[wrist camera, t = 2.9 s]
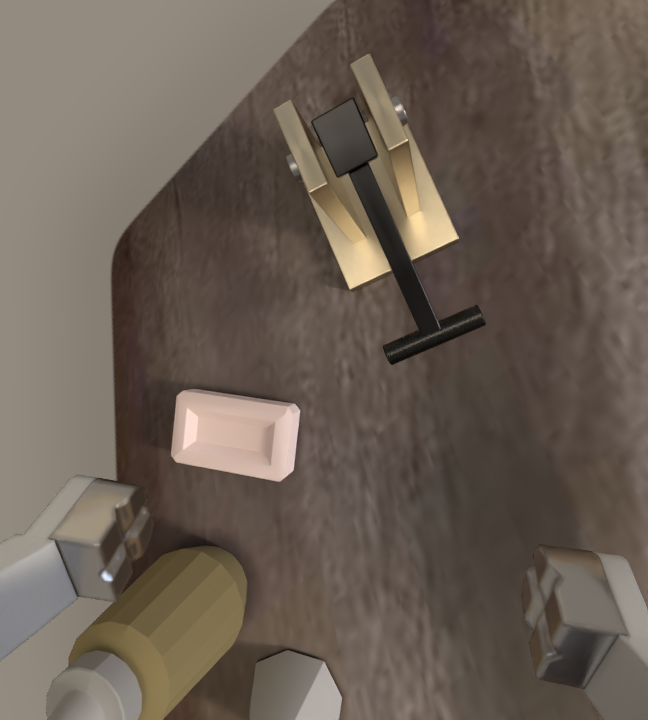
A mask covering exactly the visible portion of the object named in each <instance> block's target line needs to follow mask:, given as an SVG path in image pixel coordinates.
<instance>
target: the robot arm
mask: <svg viewBox="0 0 648 720" xmlns="http://www.w3.org/2000/svg"><path fill="white" fill-rule="evenodd" d="M147 499H148V494H147V491H146V487H145V486H141V485H136V484H130V483H125V482H119V481H113V480H108V479H102V478H96V477H90V476H83V475H75V476H74V477H72V478H70V479H69V480H68V481H67V482H66V484H65V485H64V486H63V487H62V488H61V490H60V491H59V492H58V493H57V494H56V496H55V497H54V498H53V499H52V501H51V502H50V503H49V504H48V505H47V507H46V508H45V509H44V510H43V511H42V513H41V514H40V515H39V516H38V518H37V519H36V520H35V521H34V522H33V524H32V525H31V526H30V527H29V529H28V530H27V531H26V532H25V533H24V534H23V535H22V534H15V535H14V536H12V537H10V538H8V539H6V540H4V541H3V542H1V543H0V661H1V660H3V659H4V658H5V657H6V656H8V655H9V654H10V653H12V652H13V651H14V650H15V649H16V648H18V647H19V646H20V645H21V644H23V643H24V642H25V641H26V640H28V639H29V638H30V637H31V636H33V635H34V634H35V633H36V632H38V631H39V630H40V629H41V628H43V627H44V626H45V625H46V624H48V623H49V622H50V621H51V620H53V619H54V618H55V617H56V616H58V615H59V614H60V613H61V612H62V611H64V610H65V609H66V608H67V607H69V606H70V605H71V604H73V603H74V602H75V601H76V600H77V599H78V597H84V598H91V599H97V600H104V601H111V602H117V601H118V599H119V597H120V596H121V594H122V592H123V590H124V588H125V587H126V585H127V583H128V581H129V579H130V578H131V576H132V574H133V572H132V566H131V563H132V562H133V561H135V560H136V559H138V558H139V557H141V556H142V555H143V554H144V552H145V550H146V548H147V546H148V544H149V542H150V539H151V535H152V532H153V515H152V511H151V510H150V509H149V508H148V507H147V506H146V505H145V502H146V500H147ZM532 556H533V561H534V566H533V567H531V568H529V569H528V570H527V571H526V573H525V576H524V579H523V585H522V607H523V613H524V619H525V620H526V622H527V623H528V624H529V625H530V627H531V628H532V629H533V630H534V632H533V634H532V636H531V639H530V641H529V646H530V651H531V657H532V662H533V667H534V672H535V677H536V679H539V680H544V681H548V682H553V683H558V684H563V685H568V686H572V687H577V688H582V689H585V690H584V693H585V694H586V696H587V697H588V699H589V700H590V702H591V703H592V704H593V706H594V707H595V709H596V710H597V712H598V713H599V715H600V716H601V717H602V719H603V720H648V609H647V607H646V604H645V602H644V599H643V597H642V595H641V592H640V590H639V587H638V585H637V583H636V580H635V578H634V575H633V573H632V571H631V568H630V566H629V563H628V561H627V560H626V559H625V558H624V557H623V556H617V555H610V554H603V553H597V552H592V551H586V550H579V549H572V548H564V547H557V546H550V545H542V544H539V545H538V546H537V547H536V548H535V551H534V553H533V555H532Z"/></svg>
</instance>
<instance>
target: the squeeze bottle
mask: <svg viewBox="0 0 648 720" xmlns="http://www.w3.org/2000/svg"><path fill="white" fill-rule="evenodd" d="M246 597H247V579H246V576H245V573H244V570H243V567H242V566H241V564H240V563H239V562H238V561H237V559H236V558H235V557H234V556H233V555H232V554H231V553H229V552H227V551H226V550H224V549H222V548H221V547H215V546H208V545H205V546H198V547H191V548H184V549H180V550H176V551H173V552H169V553H166V554H163V555H162V556H161V557H160V558H159V559H158V560H157V561H155V562H154V563H153V564H152V565H151V566H150V567H149V568H148V569H147V570H146V571H145V572H144V573H143V574H142V575H141V576H140V577H139V578H138V579H137V580H136V581H135V582H134V583H133V584H132V585H131V586H130V587H129V588H128V589H127V590H126V591H125V592H124V593H123V594H122V595H121V596H120V597H119V599H118V601H117V602H113V604H111V605H110V607H108V608H107V609H106V610H105V611H104V612H103V613H102V614H101V615H100V616H99V617H98V618H97V619H96V620H95V621H94V622H93V623H92V624H91V625H90V626H89V627H88V628H87V629H86V630H85V631H84V632H83V633H82V634H81V635H80V636H79V637H78V638H77V639H76V641H75V644H74V646H73V649H72V651H71V653H70V656H69V666H68V667H67V668H66V669H65V670H64V671H63V672H62V673H60V674H59V675H58V676H57V677H56V678H55V679H54V680H53V681H52V684H51V686H50V689H49V691H48V693H47V704H46V714H47V717H48V719H47V720H163V719H164V718H165V717H166V716H167V715H168V713H169V712H170V711H171V710H172V709H173V708H174V707H175V706H176V705H177V704H178V703H179V702H180V701H181V700H182V699H183V698H184V696H185V695H186V694H187V693H188V692H189V691H190V690H191V689H192V688H193V687H194V686H195V685H196V684H197V683H198V682H199V681H200V679H201V678H202V677H203V676H204V675H205V674H206V673H207V672H208V671H209V670H210V669H211V668H212V667H213V666H214V665H215V664H216V662H217V661H218V660H219V659H220V658H221V657H222V656H223V655H224V654H225V653H226V652H227V651H228V650H229V649H230V648H231V647H232V645H233V644H234V642H235V640H236V638H237V635H238V633H239V631H240V629H241V627H242V622H243V616H244V610H245V603H246Z"/></svg>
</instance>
